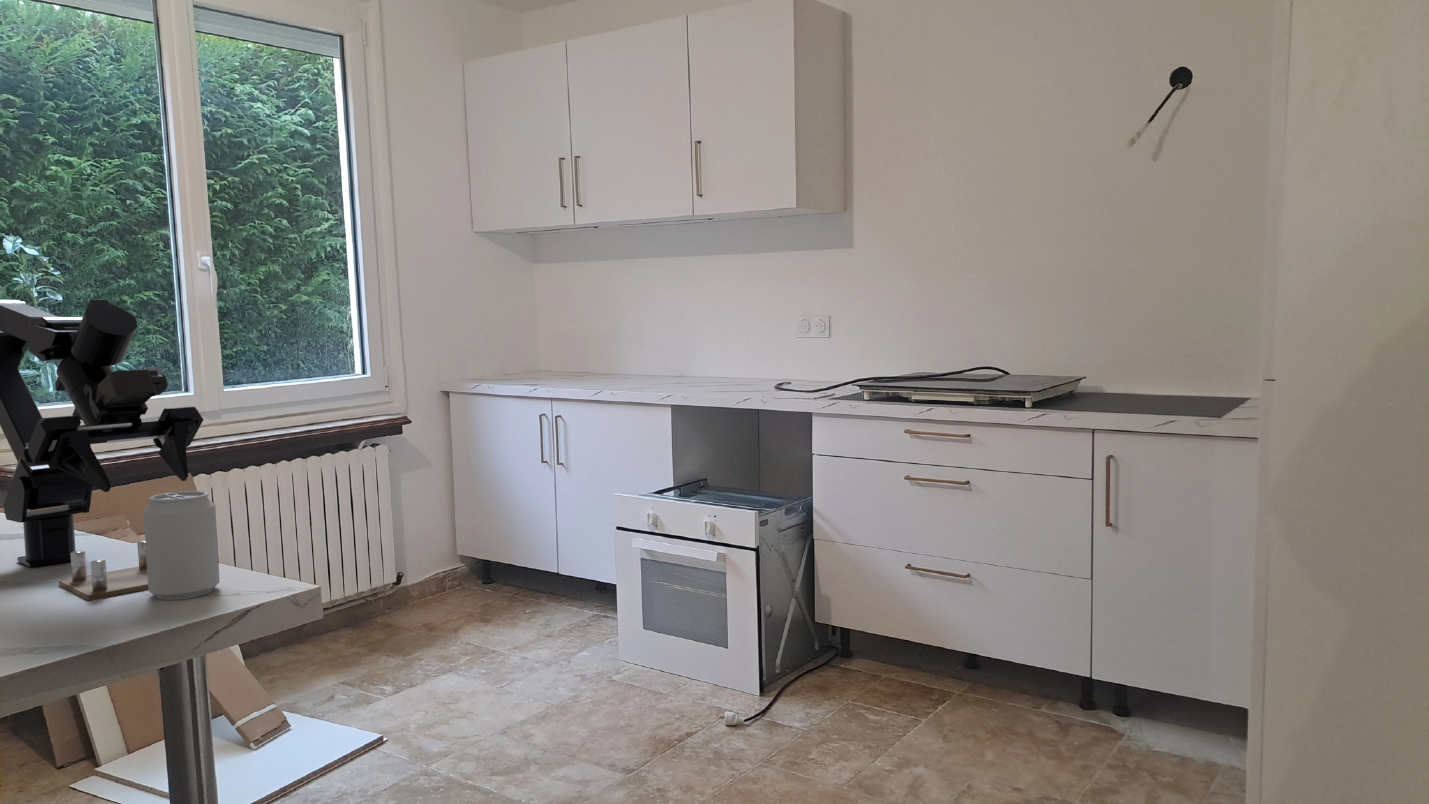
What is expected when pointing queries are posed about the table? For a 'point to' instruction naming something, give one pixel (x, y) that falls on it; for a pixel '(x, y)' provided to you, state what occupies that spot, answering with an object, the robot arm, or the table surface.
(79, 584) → the standoff plate
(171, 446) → the robot arm
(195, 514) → the can
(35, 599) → the table surface
